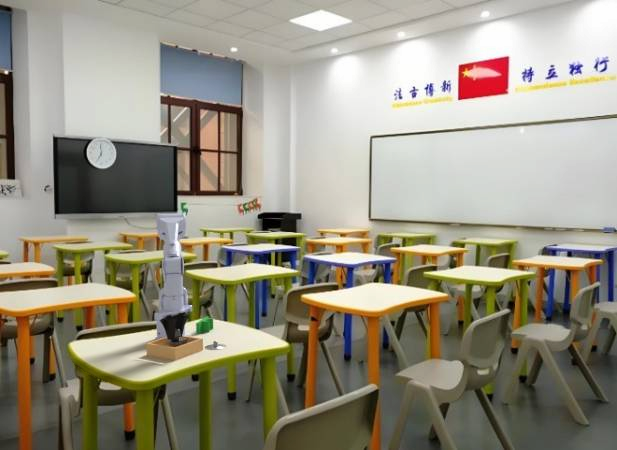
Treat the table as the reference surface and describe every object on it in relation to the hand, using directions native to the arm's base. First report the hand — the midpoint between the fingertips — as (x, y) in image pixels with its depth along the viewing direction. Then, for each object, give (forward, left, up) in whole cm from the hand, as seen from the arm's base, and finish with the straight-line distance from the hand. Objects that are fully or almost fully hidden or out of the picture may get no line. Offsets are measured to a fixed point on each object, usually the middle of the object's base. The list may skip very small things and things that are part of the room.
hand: (174, 338), depth 159 cm
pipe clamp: (-10, +26, -5) cm, 29 cm away
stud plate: (+8, +10, -5) cm, 14 cm away
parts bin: (0, 0, -5) cm, 5 cm away
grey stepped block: (+1, 0, -4) cm, 4 cm away
